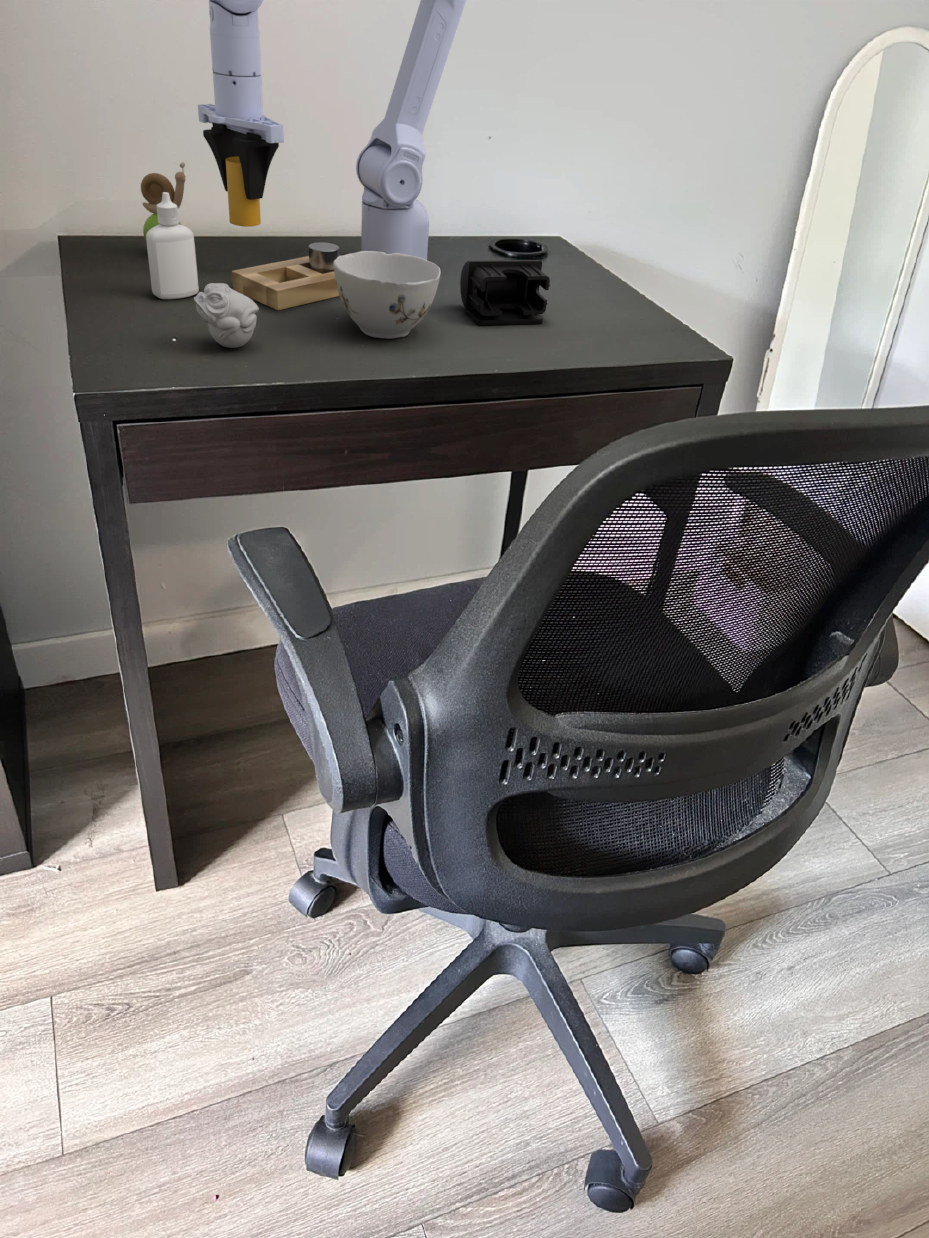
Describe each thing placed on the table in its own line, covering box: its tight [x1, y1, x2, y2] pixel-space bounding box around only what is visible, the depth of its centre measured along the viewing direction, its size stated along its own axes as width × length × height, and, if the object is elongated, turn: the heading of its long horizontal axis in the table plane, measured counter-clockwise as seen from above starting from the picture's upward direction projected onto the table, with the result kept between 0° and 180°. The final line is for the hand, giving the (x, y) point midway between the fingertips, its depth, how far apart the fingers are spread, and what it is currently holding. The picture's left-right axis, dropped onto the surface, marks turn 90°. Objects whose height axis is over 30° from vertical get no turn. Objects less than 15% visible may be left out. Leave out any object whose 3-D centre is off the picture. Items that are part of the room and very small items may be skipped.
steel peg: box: [308, 241, 340, 274], centre depth 123 cm, size 4×4×5 cm
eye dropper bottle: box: [145, 192, 200, 300], centre depth 112 cm, size 4×6×12 cm
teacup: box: [334, 250, 442, 340], centre depth 111 cm, size 15×12×8 cm
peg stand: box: [231, 255, 340, 311], centre depth 121 cm, size 9×16×2 cm, turn 138°
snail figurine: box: [140, 161, 187, 243], centre depth 126 cm, size 5×6×12 cm
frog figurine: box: [193, 282, 260, 349], centre depth 102 cm, size 6×7×7 cm
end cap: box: [459, 259, 551, 326], centre depth 118 cm, size 10×7×7 cm
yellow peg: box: [226, 157, 262, 228], centre depth 118 cm, size 4×4×8 cm
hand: (243, 194), depth 118 cm, fingers closed on yellow peg, 4 cm apart
